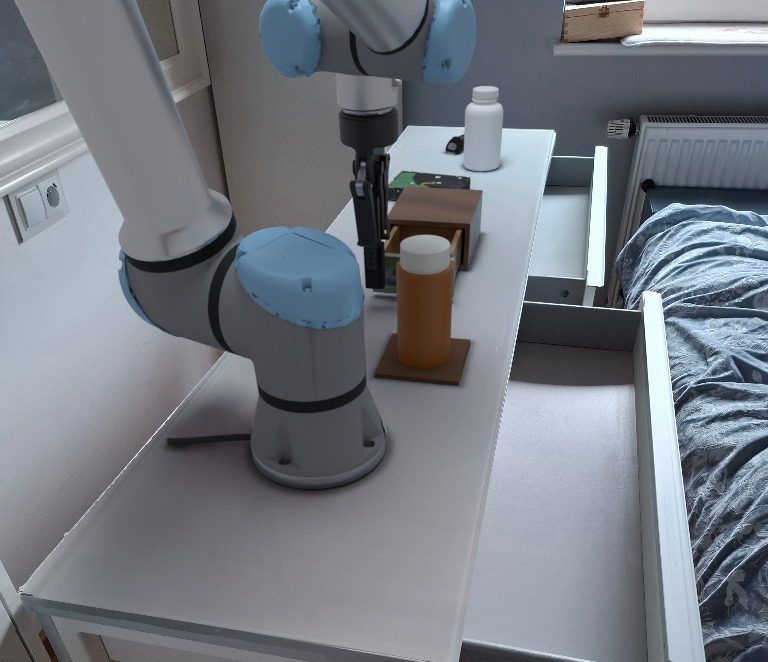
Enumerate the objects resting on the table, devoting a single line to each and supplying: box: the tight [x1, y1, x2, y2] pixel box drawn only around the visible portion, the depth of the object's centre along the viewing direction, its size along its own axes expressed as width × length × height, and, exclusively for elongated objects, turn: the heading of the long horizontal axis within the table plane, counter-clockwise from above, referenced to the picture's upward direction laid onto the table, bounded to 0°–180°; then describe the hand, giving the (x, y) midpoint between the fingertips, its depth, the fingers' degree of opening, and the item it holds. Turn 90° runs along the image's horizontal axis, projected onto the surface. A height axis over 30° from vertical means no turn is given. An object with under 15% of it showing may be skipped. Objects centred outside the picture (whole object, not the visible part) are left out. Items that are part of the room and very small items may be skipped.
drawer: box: [372, 224, 464, 299], centre depth 110 cm, size 19×12×6 cm, turn 167°
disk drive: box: [388, 170, 471, 201], centre depth 143 cm, size 10×3×15 cm
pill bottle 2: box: [462, 85, 504, 172], centre depth 151 cm, size 8×8×15 cm
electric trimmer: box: [445, 133, 464, 155], centre depth 167 cm, size 4×16×3 cm, turn 143°
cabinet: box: [385, 187, 484, 271], centre depth 121 cm, size 16×14×8 cm
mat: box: [374, 332, 471, 386], centre depth 96 cm, size 11×11×1 cm
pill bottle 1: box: [396, 235, 454, 369], centre depth 91 cm, size 7×7×15 cm
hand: (375, 286), depth 105 cm, fingers closed
